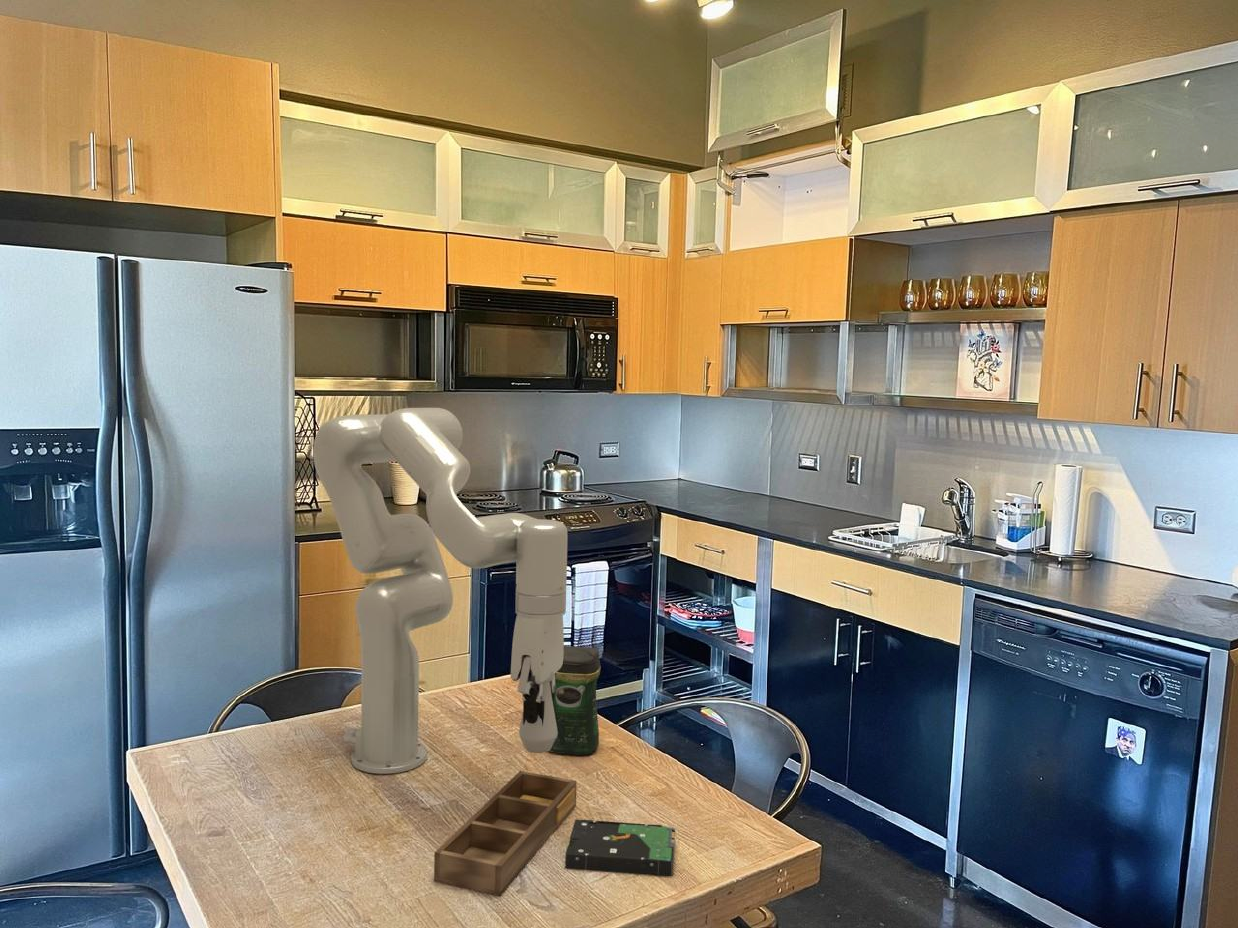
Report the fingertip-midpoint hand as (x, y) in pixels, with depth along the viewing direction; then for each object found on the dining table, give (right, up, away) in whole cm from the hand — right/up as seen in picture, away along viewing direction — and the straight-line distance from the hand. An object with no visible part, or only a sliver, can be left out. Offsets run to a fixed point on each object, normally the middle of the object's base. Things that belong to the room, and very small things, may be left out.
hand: (538, 720), depth 140 cm
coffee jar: (+4, -13, +27) cm, 30 cm away
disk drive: (+13, -17, -9) cm, 23 cm away
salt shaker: (0, -4, 0) cm, 4 cm away
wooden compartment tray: (-3, -15, -7) cm, 17 cm away
